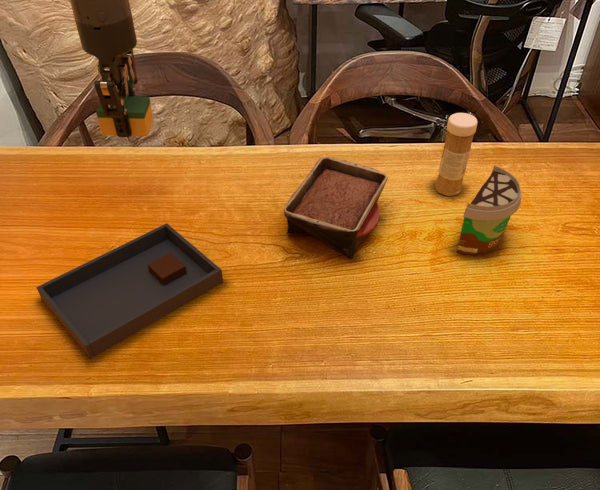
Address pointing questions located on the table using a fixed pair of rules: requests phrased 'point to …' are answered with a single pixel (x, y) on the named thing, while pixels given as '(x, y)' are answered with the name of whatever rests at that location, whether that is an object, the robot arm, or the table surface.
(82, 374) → the table surface
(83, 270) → the pan
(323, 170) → the soil filled planter
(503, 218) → the food container
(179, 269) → the burnt scrap
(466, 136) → the sprinkles bottle
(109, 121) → the sponge
